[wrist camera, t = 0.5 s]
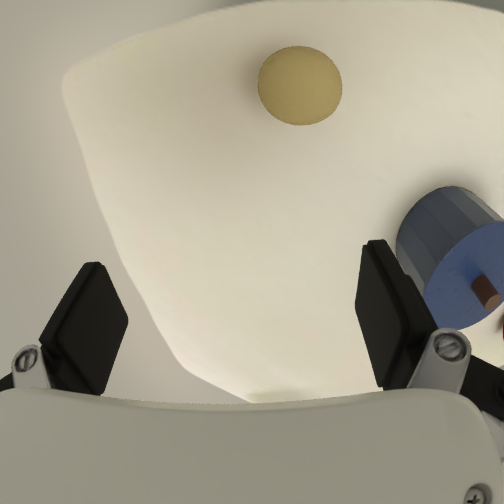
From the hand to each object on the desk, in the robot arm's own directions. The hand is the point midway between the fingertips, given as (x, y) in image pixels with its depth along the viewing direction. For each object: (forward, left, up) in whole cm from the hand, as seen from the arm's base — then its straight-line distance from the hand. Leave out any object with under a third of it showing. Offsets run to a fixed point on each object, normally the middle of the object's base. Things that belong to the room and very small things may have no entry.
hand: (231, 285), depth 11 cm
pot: (+8, +27, -23) cm, 37 cm away
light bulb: (-6, +3, -23) cm, 24 cm away
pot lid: (+8, +27, -13) cm, 32 cm away
